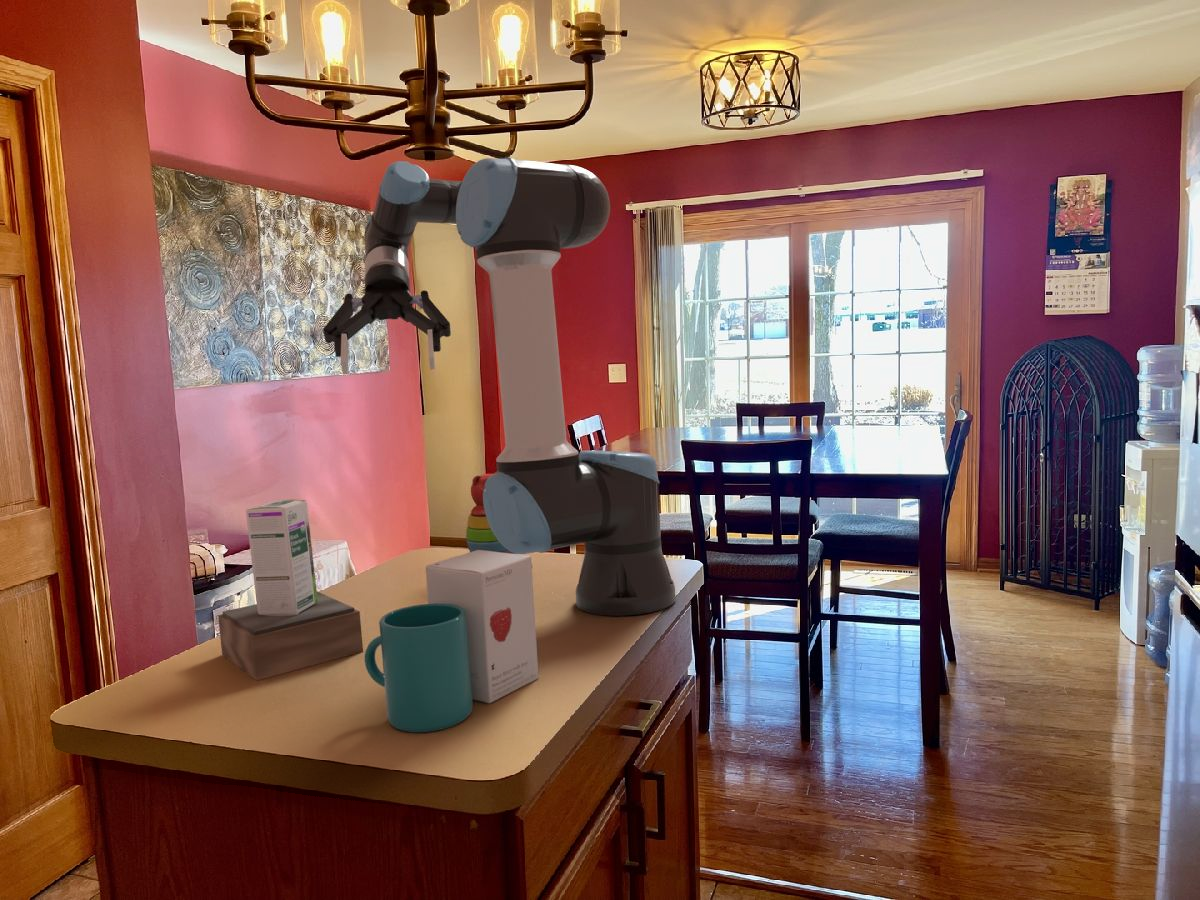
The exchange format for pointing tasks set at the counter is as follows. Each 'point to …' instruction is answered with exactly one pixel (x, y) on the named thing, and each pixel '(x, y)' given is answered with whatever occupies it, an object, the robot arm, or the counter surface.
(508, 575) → the supplement box
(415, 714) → the cup
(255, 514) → the syrup box
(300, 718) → the counter surface
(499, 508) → the robot arm
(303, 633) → the plinth
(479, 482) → the stacking bear
